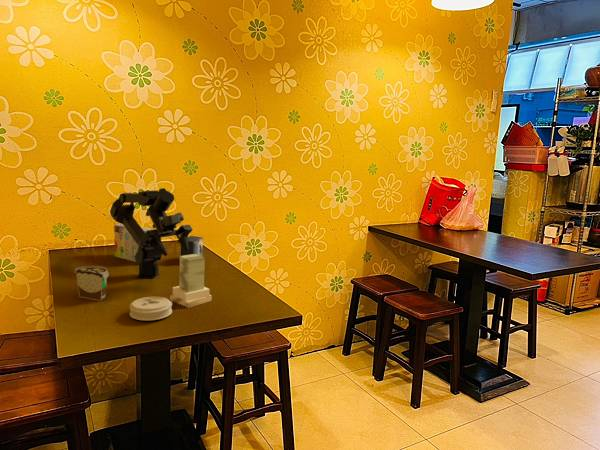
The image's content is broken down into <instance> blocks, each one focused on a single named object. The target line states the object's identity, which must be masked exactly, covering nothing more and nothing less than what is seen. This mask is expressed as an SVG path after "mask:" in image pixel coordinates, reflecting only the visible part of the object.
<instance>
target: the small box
mask: <svg viewBox="0 0 600 450" xmlns="http://www.w3.org/2000/svg"><path fill="white" fill-rule="evenodd" d="M203 240H204V237H202V236H196V235H195V236H194V235H190V236H189V235H188V247H189V251H188V252H186V251H185V249H184V248H183V247H182V245H181V244H180V256H184V255H191V254H197V255H199V256H202V257H204V256H203V254H204V253H203V245H204V244H203V243H204V241H203Z"/></svg>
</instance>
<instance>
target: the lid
mask: <svg viewBox="0 0 600 450" xmlns="http://www.w3.org/2000/svg"><path fill="white" fill-rule="evenodd" d="M172 307H173V301H170V299H168V298H167V297H163V296H155V295H154V296H153V295H151V296H144V297H141V298H137V299H135V300H134V301H132V302H131V303H130V304H129V310H130V311H129V316H130V317H131V318H132V319H135V320H139V321H156V320H160V319H161V320H162V319H165V318H166V317H169V316H170V315H172V314H173V309H172Z"/></svg>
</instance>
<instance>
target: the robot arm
mask: <svg viewBox="0 0 600 450" xmlns="http://www.w3.org/2000/svg"><path fill="white" fill-rule="evenodd" d="M174 201H175V196H174V194H173V193H172V192H171V191H168V190H166V188H159V189H158V190H157V189H156V190H155V189H154V190H143V191H142V190H141V191H139V192H137V193H136V192H123V193H120V194H119V197H118V198H117V199H116V200H114V201H113V202H112V204H111V208H110V210H109V214H110V217H111V218H112V219H113V220H114V221H115V222H116V223H118V224H123V225H124V226H125V228H126V229H127V231H128V232H129V233H130V235H131V236H132V237H133V239H134V240H135V242H136V243H137V244H138V251H137V253H136V255H135V261H136V262H135V263H137V262H138V263H137V264H138V273H139V274H138V275H137V278H139V279H140V278H141V279H143V278H144V279H154V278H156V277H158V276H159V275H160V271H159V269H160V268H159V267H160V266H159V264H158V261H162V255H163V256H165V257H167V256H168V251H167V250H166V247H165V245H164V244H163V242H162V238H166V237H174V236H175V237H176V238H177V241H178V242H179V244H180V246H181V245H182V247H183V248H184V249H185V251H186V252H188V251H189V247H188V237H189V235H190V234H191V233H192V231H193V227H192V226H191V225H190V224H183V225H180V226H179V227H178V228H177V225H178V224H181V223H182V222H183V221H185V220H184V216H183V213H182V212H177V213H175V214H171V215H167V212H166V211H169V208H170V207H171V205H172V204H173V202H174ZM128 203H130V204H128ZM135 204H138V205H139V206H142V207H148V206H149V207H148V208H147V209H146V211H145V216H146V217H149V219H150V220H151V222H152V225H151V227H152V229H154V230H147V231H146V233H145V232H144V231H143V229H142V228H141V227H142V226H141V225H139V223H138V221H137V220H136V219H135V218H134V214H135V213H134V212H135V209H136V207H135ZM176 228H177V229H176Z"/></svg>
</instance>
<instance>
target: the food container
mask: <svg viewBox="0 0 600 450" xmlns="http://www.w3.org/2000/svg"><path fill="white" fill-rule="evenodd" d="M74 275H76V282H77V285H76V286H77V291H78V298H84V299H88V300H94V301H97V302H102V301H104V300H105V299H106V295H107V281H108V277H109V276H110V273H109V271H108V268H107V267H105V266H102V265H100V266H99V265H86V266H79V267H75V270H74Z"/></svg>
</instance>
